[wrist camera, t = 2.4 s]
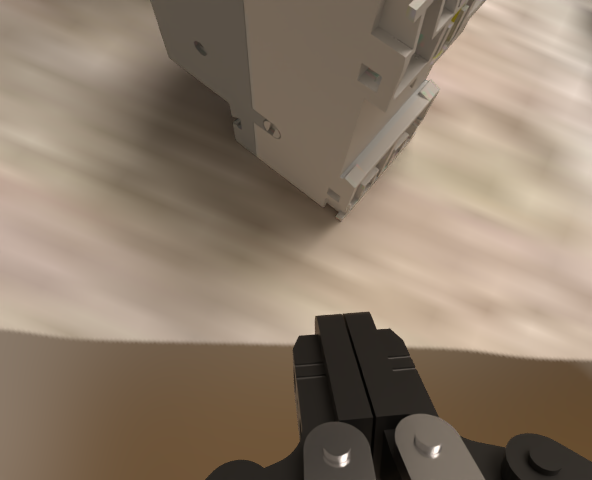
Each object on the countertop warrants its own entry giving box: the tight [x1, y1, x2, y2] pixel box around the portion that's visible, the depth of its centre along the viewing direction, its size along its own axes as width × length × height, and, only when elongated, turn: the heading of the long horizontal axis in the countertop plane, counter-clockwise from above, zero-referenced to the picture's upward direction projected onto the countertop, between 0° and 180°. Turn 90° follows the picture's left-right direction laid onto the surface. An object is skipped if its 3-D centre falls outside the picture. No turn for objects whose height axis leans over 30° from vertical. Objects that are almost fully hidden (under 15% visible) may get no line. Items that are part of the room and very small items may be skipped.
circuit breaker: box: [150, 0, 486, 221], centre depth 20 cm, size 8×14×15 cm, turn 51°
